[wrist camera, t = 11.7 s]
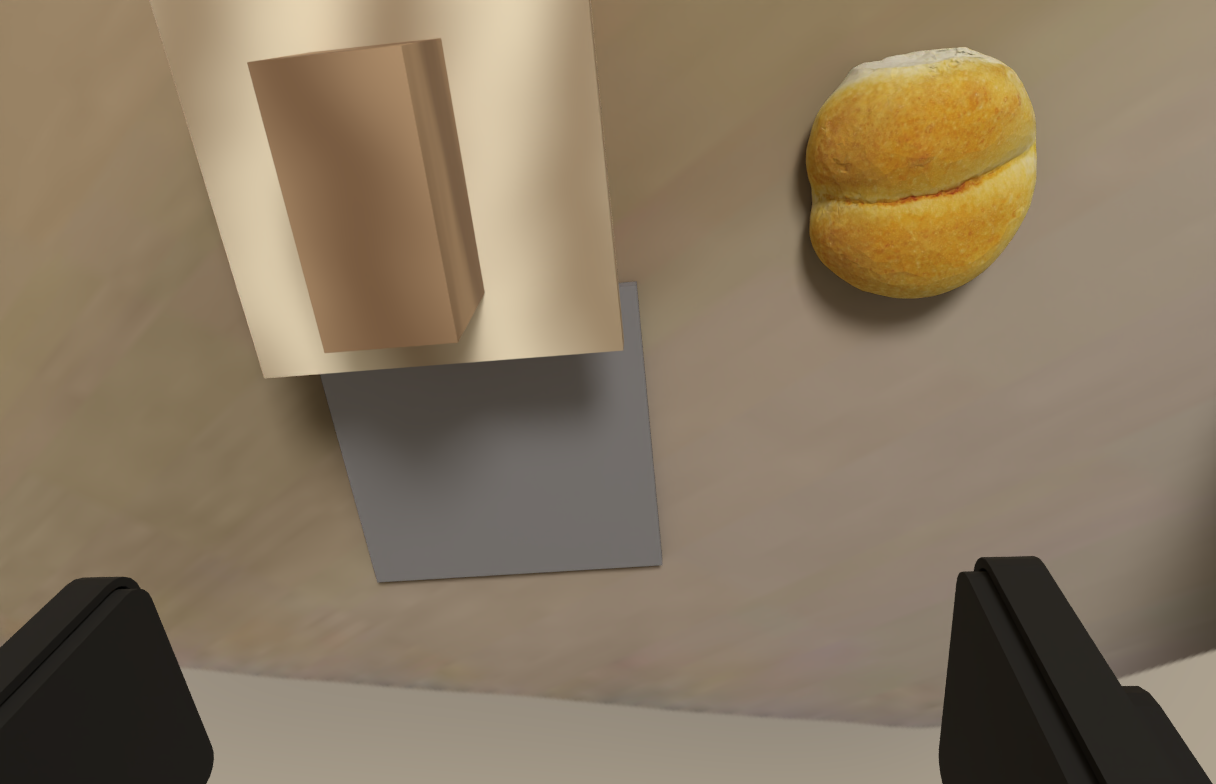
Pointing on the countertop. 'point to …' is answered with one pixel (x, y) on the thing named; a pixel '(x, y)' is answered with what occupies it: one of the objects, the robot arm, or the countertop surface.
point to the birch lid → (403, 176)
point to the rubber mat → (503, 462)
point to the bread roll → (920, 171)
